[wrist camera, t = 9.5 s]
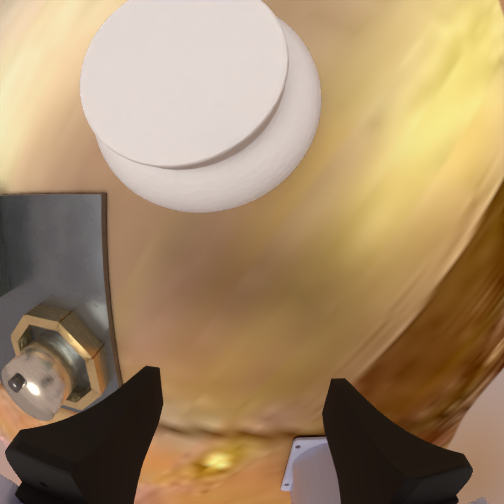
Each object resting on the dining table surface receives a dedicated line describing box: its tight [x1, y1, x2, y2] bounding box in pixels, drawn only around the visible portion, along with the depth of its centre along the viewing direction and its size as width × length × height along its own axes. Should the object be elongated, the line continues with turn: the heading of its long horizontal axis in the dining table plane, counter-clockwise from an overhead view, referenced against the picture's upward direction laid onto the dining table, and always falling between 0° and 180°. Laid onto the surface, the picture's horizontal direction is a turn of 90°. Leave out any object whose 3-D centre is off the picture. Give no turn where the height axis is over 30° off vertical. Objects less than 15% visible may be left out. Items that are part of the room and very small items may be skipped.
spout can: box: [2, 329, 87, 421], centre depth 18 cm, size 5×5×7 cm
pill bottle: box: [80, 0, 321, 213], centre depth 12 cm, size 8×7×14 cm
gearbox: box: [0, 193, 123, 413], centre depth 19 cm, size 20×16×6 cm
